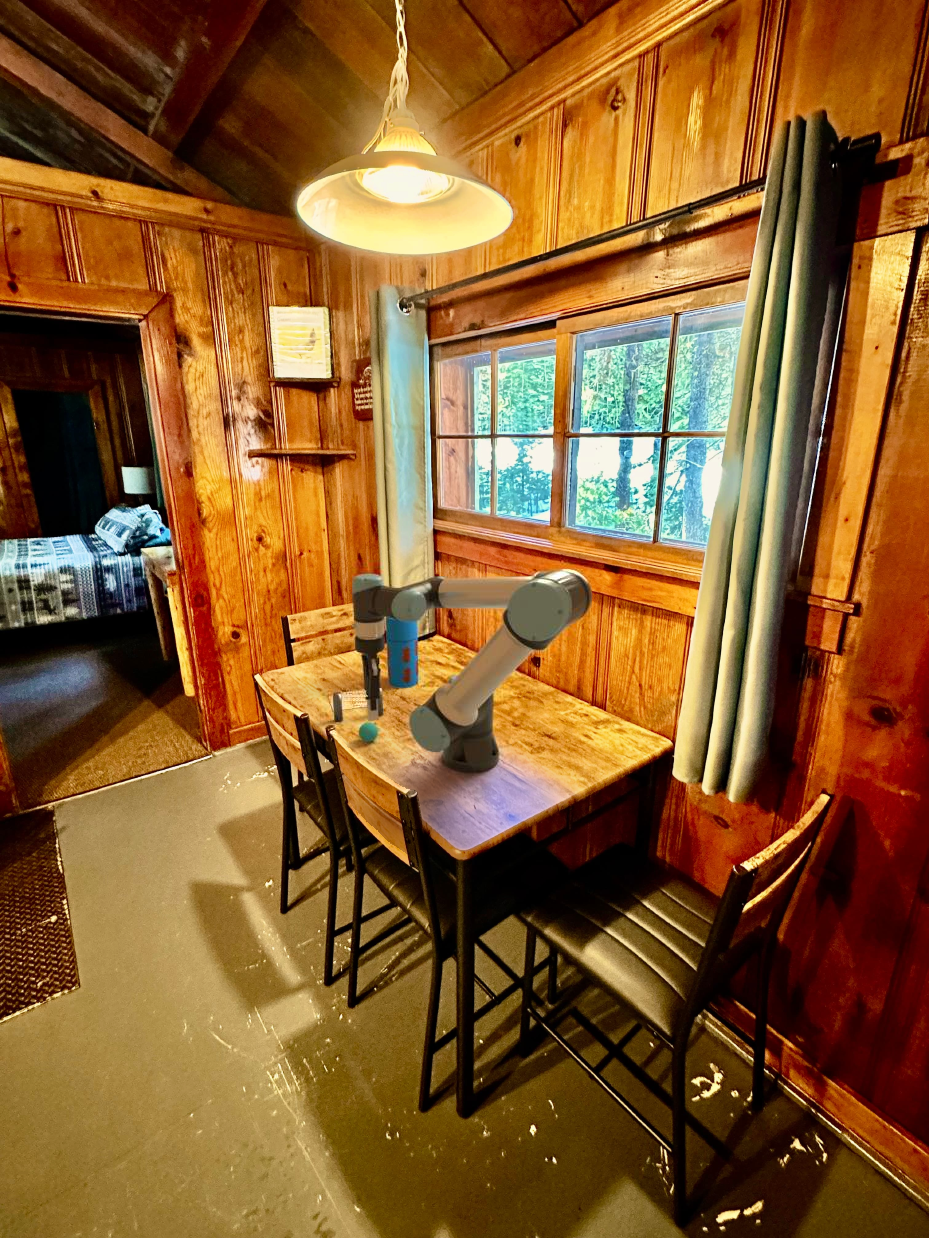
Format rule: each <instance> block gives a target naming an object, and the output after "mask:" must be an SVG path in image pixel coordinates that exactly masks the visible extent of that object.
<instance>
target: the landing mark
mask: <svg viewBox="0 0 929 1238" xmlns="http://www.w3.org/2000/svg"><path fill="white" fill-rule="evenodd" d="M358 690H359V689H357V690H351V691H343V692H341V693H344V694H341V697H342V701H352V700H353V701H365V700H366V699H363V698H361V699H360V698H356V699H357V700H356V699H355V698H353V699H352V698H350V697H367V695H366V694H365V695H366V696H365V695H363V694H360V695H358V694H357V695H355V694H354V695H352V694H349V693H366V692H364V691H363V690H365V689H360V690H359V691H358ZM361 690H362V691H361ZM352 691H353V692H352ZM355 691H356V692H355ZM346 693H347V694H346ZM329 697H330V696H329ZM329 697H328V698H329ZM344 697H345V698H344ZM347 697H348V698H347ZM346 698H347V699H346ZM349 698H350V699H349ZM351 699H352V700H351ZM359 699H360V700H359ZM330 701H333V700H329V703H330V707H331V709H332V712H333V713H334V709H333V702H330ZM366 701H367V700H366ZM348 703H349V702H348ZM351 703H352V702H351ZM342 705H348V704H346V702H345V703H344V702H342ZM349 705H350V704H349ZM352 705H353V704H352ZM354 705H358V706H355V708H356V709H360V707H362V708H367V706H366V705H367V702H366V703H362V702H361V703H360V702H359V703H357V702H356V704H354ZM359 705H360V706H359ZM361 705H362V706H361ZM364 705H365V706H364ZM353 708H354V707H353ZM345 709H349V710H353V709H352V708H349V707H347V706H344V707H343V706H342V711H346V710H345Z"/></svg>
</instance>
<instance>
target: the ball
mask: <svg viewBox="0 0 929 1238" xmlns="http://www.w3.org/2000/svg"><path fill="white" fill-rule="evenodd" d="M378 735H379V728H378V726H377V724H374V723H373V722H372V721H368V722H365V723H362V725H360V727H359V730H358V736H359V738H360V739H361V740H362V741H363V742H366V743H372V742H373V741H375V740H376V739H377V737H378Z"/></svg>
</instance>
